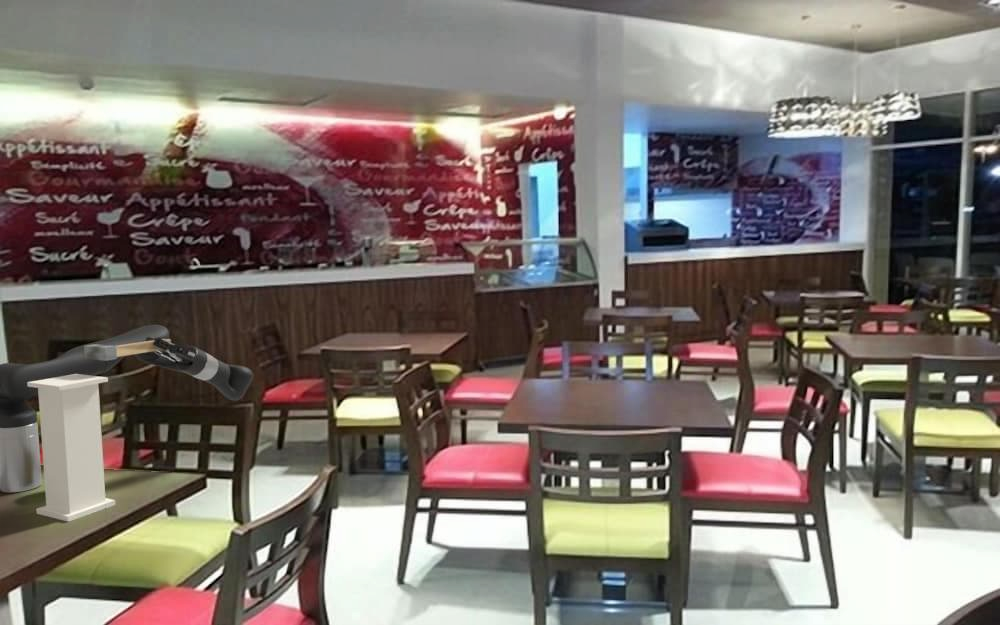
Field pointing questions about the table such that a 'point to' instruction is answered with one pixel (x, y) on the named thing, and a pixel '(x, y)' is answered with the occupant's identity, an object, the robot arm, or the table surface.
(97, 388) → the stand
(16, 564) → the table surface
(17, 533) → the table surface
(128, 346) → the hammer
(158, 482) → the table surface
